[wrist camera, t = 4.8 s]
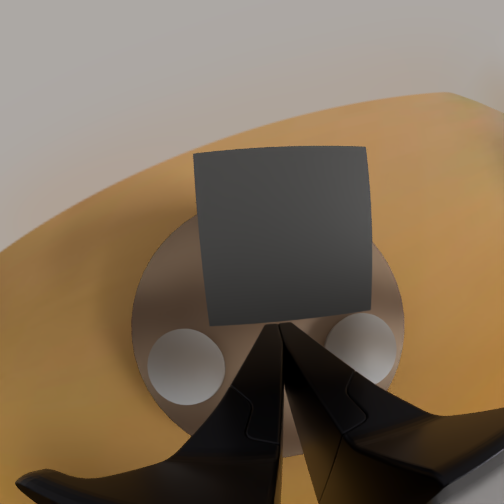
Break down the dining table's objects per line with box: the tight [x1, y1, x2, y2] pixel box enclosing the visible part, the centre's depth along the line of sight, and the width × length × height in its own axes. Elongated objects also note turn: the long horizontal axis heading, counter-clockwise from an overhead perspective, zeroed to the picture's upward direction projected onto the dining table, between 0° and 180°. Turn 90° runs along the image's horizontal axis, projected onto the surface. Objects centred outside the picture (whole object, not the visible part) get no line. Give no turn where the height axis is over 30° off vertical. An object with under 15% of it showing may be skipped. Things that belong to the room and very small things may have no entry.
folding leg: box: [193, 146, 372, 326], centre depth 10 cm, size 4×4×10 cm
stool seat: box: [132, 215, 404, 458], centre depth 15 cm, size 15×15×4 cm
